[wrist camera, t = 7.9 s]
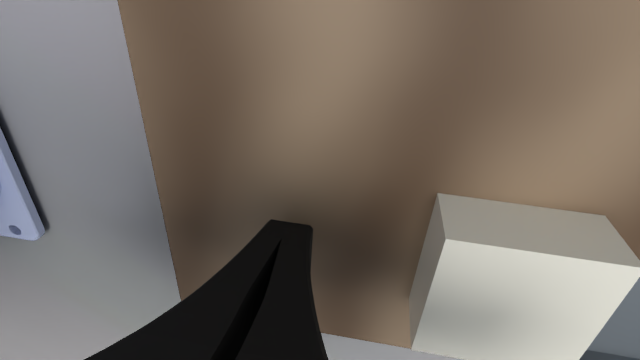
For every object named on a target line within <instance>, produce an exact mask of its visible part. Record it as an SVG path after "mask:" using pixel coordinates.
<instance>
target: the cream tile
mask: <svg viewBox="0 0 640 360" xmlns="http://www.w3.org/2000/svg"><path fill="white" fill-rule="evenodd" d="M639 277H640V260H639V259H638V258H637V256H636V255H635V254H634V252H633V251H632V250H631V249H630V247H629V246H628V245H627V243H626V242H625V241H624V239H623V238H622V237H621V236H620V234H619V233H618V232H617V230H616V229H615V228H614V227H613V225H612V224H611V223H610V221H609V220H608V219H607V217H606V216H603V215H596V214H589V213H581V212H574V211H567V210H559V209H552V208H544V207H537V206H530V205H522V204H515V203H507V202H500V201H493V200H485V199H478V198H471V197H463V196H456V195H448V194H441V193H437V197H436V201H435V204H434V208H433V212H432V215H431V219H430V223H429V226H428V230H427V234H426V237H425V241H424V245H423V248H422V252H421V255H420V259H419V263H418V266H417V270H416V274H415V277H414V281H413V285H412V288H411V292H410V296H409V317H410V339H411V350H413V351H419V352H424V353H430V354H436V355H441V356H447V357H452V358H458V359H463V360H579V359H580V358H581V357H582V355H583V354H584V352H585V351H586V350H587V348H588V347H589V346H590V344H591V343H592V342H593V340H594V339H595V337H596V336H597V335H598V333H599V332H600V331H601V329H602V328H603V327H604V325H605V324H606V322H607V321H608V320H609V318H610V317H611V316H612V314H613V313H614V311H615V310H616V309H617V307H618V306H619V305H620V303H621V302H622V301H623V299H624V298H625V296H626V295H627V294H628V292H629V291H630V290H631V288H632V287H633V285H634V284H635V283H636V281H637V280H638V279H639Z"/></svg>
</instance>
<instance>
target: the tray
mask: <svg viewBox="0 0 640 360" xmlns="http://www.w3.org/2000/svg"><path fill="white" fill-rule="evenodd" d="M579 360H640V277H639V279H638V280H637V281H636V283H635V284H634V285H633V287H632V288H631V290H630V291H629V292H628V294H627V295H626V296H625V298H624V299H623V301H622V302H621V303H620V305H619V306H618V307H617V309H616V310H615V311H614V313H613V314H612V316H611V317H610V318H609V320H608V321H607V322H606V324H605V325H604V327H603V328H602V329H601V331H600V332H599V333H598V335H597V336H596V337H595V339H594V340H593V342H592V343H591V344H590V346H589V347H588V348H587V350H586V351H585V352H584V354H583V355H582V357H581V358H580V359H579Z"/></svg>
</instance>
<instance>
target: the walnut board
mask: <svg viewBox="0 0 640 360" xmlns="http://www.w3.org/2000/svg"><path fill="white" fill-rule="evenodd" d="M118 5H119V9H120V14H121V19H122V24H123V28H124V33H125V38H126V43H127V47H128V52H129V57H130V61H131V66H132V71H133V76H134V80H135V85H136V90H137V95H138V99H139V104H140V109H141V113H142V118H143V123H144V128H145V132H146V137H147V142H148V147H149V151H150V156H151V161H152V165H153V170H154V175H155V180H156V184H157V189H158V194H159V199H160V203H161V208H162V213H163V217H164V222H165V227H166V232H167V236H168V241H169V246H170V251H171V255H172V260H173V265H174V269H175V274H176V279H177V284H178V288H179V293H180V298H181V301H182V300H184V299H185V298H186V297H188V296H189V295H190V294H192V293H193V292H194V291H196V290H197V289H198V288H199V287H201V286H202V285H203V284H204V283H205V282H207V281H208V280H209V279H210V278H211V277H212V276H213V275H215V274H216V273H217V272H218V271H219V270H220V269H222V268H223V267H224V266H225V265H226V264H227V263H228V262H229V261H230V260H231V259H232V258H233V257H234V256H235V255H236V254H238V253H239V252H240V251H241V250H242V249H243V248H244V247H245V246H246V245H247V244H248V243H249V242H250V240H251V239H252V238H253V237H254V236H255V235H256V234H257V233H258V232H259V231H260V230H261V229H262V228H263V226H264V225H265V224H266V223H267V222H268V221H269V220H271V219H272V220H279V221H286V222H292V223H299V224H306V225H310V226H311V227H312V228H313V240H312V257H311V272H310V273H311V284H312V291H313V297H314V304H315V309H316V314H317V319H318V323H319V328H320V332H321V333H326V334H332V335H337V336H343V337H349V338H354V339H360V340H365V341H371V342H376V343H382V344H388V345H393V346H399V347H404V348H410V349H411V339H410V317H409V296H410V292H411V288H412V285H413V281H414V277H415V274H416V270H417V266H418V263H419V259H420V255H421V252H422V248H423V245H424V241H425V237H426V234H427V230H428V226H429V223H430V219H431V215H432V212H433V208H434V204H435V201H436V197H437V193H441V194H448V195H456V196H463V197H471V198H478V199H485V200H493V201H500V202H507V203H515V204H522V205H530V206H537V207H544V208H552V209H559V210H567V211H574V212H581V213H589V214H596V215H603V216H606V217H607V219H608V220H609V221H610V223H611V224H612V225H613V227H614V228H615V229H616V230H617V232H618V233H619V234H620V236H621V237H622V238H623V239H624V241H625V242H626V243H627V245H628V246H629V247H630V249H631V250H632V251H633V252H634V254H635V255H636V256H637V258H638V259H639V260H640V0H118Z"/></svg>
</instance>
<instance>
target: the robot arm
mask: <svg viewBox="0 0 640 360" xmlns="http://www.w3.org/2000/svg"><path fill="white" fill-rule="evenodd" d="M44 233H45V230H44V226H43V224H42V222H41V219H40V217H39V215H38V213H37V210H36V208H35V206H34V203H33V201H32V199H31V197H30V194H29V192H28V190H27V187H26V185H25V183H24V180H23V178H22V176H21V174H20V171H19V169H18V167H17V164H16V162H15V160H14V158H13V155H12V153H11V151H10V148H9V146H8V144H7V141H6V139H5V137H4V135H3V132H2V130H1V128H0V235H1V236H7V237H13V238H19V239H25V240H37V239H39V238H40V237H41V236H42V235H44ZM312 240H313V228H312V227H311V226H310V225H306V224H299V223H292V222H286V221H279V220H272V219H271V220H269V221H268V222H267V223H266V224H265V225H264V226H263V228H262V229H261V230H260V231H259V232H258V233H257V234H256V235H255V236H254V237H253V238H252V239H251V240H250V242H249V243H248V244H247V245H246V246H245V247H244V248H243V249H242V250H241V251H240V252H239V253H238V254H236V255H235V256H234V257H233V258H232V259H231V260H230V261H229V262H228V263H227V264H226V265H225V266H224V267H223V268H222V269H220V270H219V271H218V272H217V273H216V274H215V275H213V276H212V277H211V278H210V279H209V280H208V281H207V282H205V283H204V284H203V285H202V286H201V287H199V288H198V289H197V290H196V291H194V292H193V293H192V294H190V295H189V296H188V297H186V298H185V299H184V300H182V301H181V302H180V303H178V304H177V305H175V306H174V307H173V308H171V309H170V310H168V311H167V312H165V313H164V314H162V315H161V316H159V317H158V318H156V319H155V320H153V321H152V322H150V323H149V324H147V325H145V326H144V327H142V328H141V329H139V330H137V331H136V332H134V333H132V334H130V335H129V336H127V337H125V338H123V339H122V340H120V341H118V342H116V343H115V344H113V345H111V346H109V347H107V348H106V349H104V350H102V351H100V352H98V353H96V354H94V355H92V356H91V357H89V358H86V359H84V360H328V357H327V354H326V351H325V347H324V343H323V340H322V336H321V332H320V328H319V323H318V319H317V314H316V309H315V304H314V297H313V291H312V284H311V273H310V272H311V257H312Z"/></svg>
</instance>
